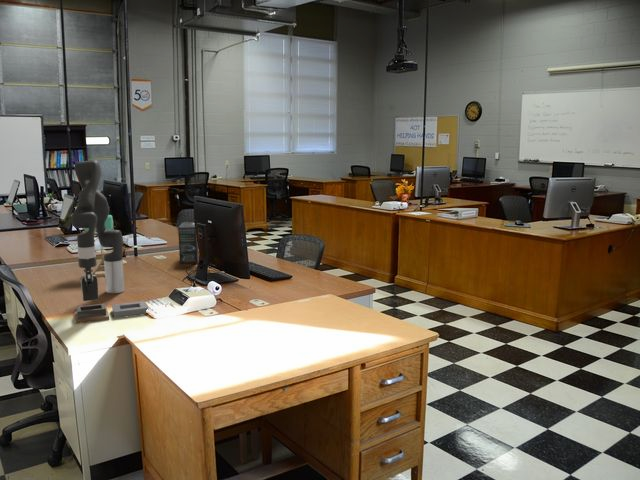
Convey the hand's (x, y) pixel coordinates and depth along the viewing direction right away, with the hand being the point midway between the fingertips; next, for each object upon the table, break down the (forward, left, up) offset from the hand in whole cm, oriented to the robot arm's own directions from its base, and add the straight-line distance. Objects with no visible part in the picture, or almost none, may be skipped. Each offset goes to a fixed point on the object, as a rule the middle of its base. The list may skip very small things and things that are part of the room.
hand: (89, 292), depth 258 cm
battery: (0, 0, -3) cm, 3 cm away
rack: (0, 0, -12) cm, 12 cm away
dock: (0, +17, -12) cm, 21 cm away
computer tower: (-101, +67, -12) cm, 122 cm away
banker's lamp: (-87, +11, -12) cm, 88 cm away
